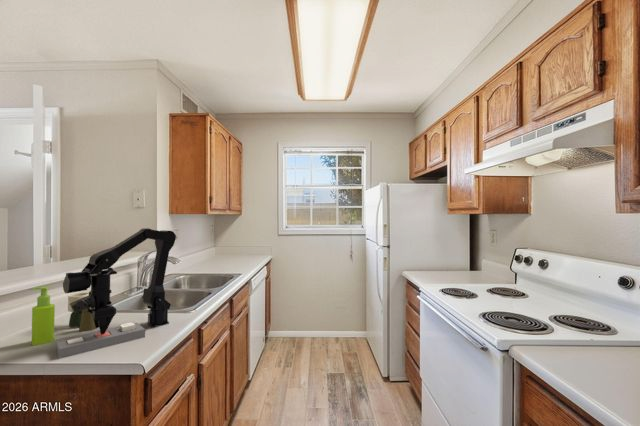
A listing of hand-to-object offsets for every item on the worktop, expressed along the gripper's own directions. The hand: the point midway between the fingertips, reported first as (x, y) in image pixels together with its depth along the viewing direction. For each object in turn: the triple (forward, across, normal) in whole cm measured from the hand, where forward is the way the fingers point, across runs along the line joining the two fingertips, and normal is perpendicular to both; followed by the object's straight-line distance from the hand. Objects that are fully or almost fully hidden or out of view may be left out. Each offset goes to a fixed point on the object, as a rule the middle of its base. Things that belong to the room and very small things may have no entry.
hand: (100, 330), depth 109 cm
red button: (+3, +5, 0) cm, 6 cm away
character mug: (+4, -25, -3) cm, 25 cm away
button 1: (+3, +5, -8) cm, 9 cm away
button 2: (+2, +5, +8) cm, 9 cm away
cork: (+4, -16, -1) cm, 16 cm away
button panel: (+4, +5, 0) cm, 6 cm away
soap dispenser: (+4, -12, -15) cm, 20 cm away
